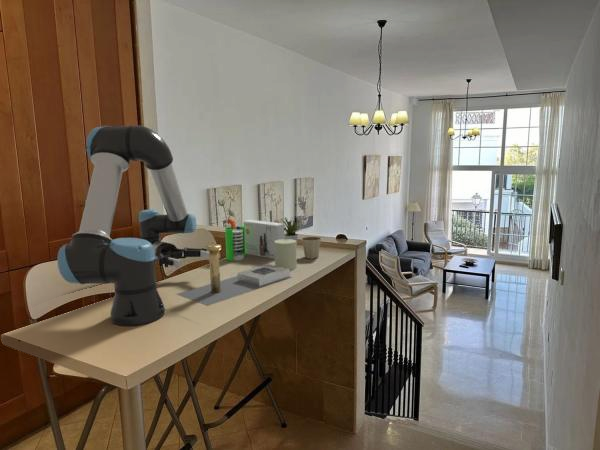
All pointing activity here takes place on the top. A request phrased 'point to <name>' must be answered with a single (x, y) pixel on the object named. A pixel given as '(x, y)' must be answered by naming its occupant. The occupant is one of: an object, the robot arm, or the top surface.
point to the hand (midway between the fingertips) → (196, 260)
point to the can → (285, 253)
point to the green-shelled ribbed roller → (235, 241)
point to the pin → (214, 267)
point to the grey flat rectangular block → (263, 275)
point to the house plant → (291, 229)
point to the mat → (228, 290)
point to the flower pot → (311, 246)
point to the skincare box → (262, 237)
